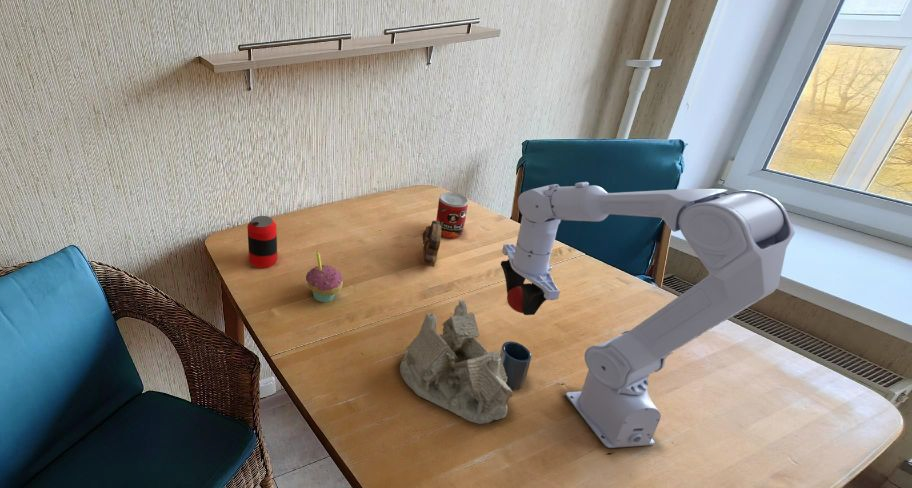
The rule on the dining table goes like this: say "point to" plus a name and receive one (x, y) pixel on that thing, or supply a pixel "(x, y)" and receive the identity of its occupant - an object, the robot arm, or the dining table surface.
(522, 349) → the cup
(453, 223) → the canned food
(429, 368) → the ceramic cottage
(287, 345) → the dining table surface
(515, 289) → the ball
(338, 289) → the cupcake
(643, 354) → the robot arm
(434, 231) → the wooden carving
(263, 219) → the soda can
